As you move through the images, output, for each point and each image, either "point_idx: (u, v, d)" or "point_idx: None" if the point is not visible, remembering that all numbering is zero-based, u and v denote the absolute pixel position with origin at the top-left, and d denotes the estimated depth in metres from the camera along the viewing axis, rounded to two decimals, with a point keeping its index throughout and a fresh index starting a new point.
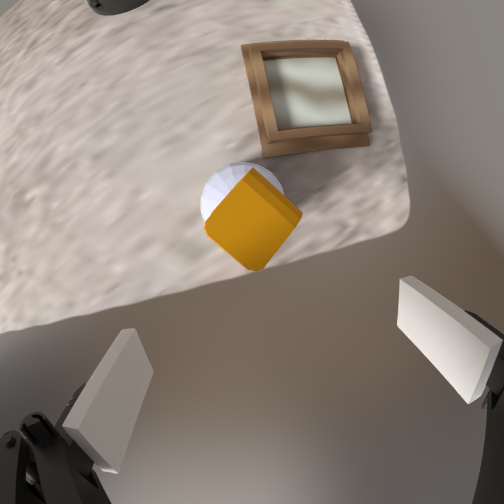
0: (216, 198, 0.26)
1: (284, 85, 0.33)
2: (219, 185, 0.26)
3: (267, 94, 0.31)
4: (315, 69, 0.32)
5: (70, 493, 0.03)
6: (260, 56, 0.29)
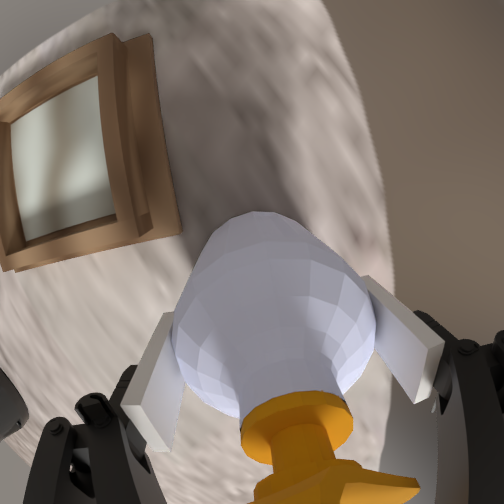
0: None
1: (52, 203, 0.17)
2: (229, 412, 0.10)
3: (59, 244, 0.15)
4: (27, 153, 0.16)
5: (123, 480, 0.04)
6: (12, 256, 0.15)
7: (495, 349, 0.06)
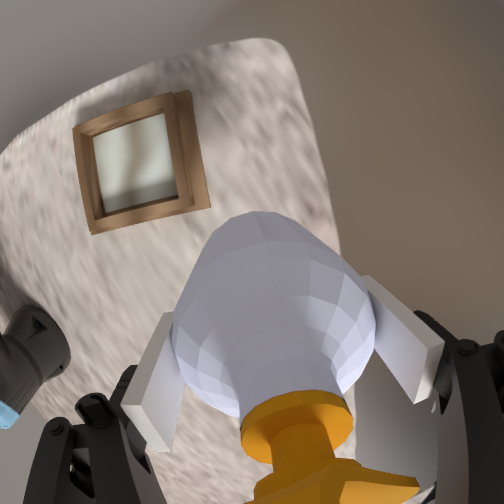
0: None
1: (129, 189, 0.33)
2: (229, 412, 0.10)
3: (140, 211, 0.31)
4: (109, 157, 0.32)
5: (124, 480, 0.04)
6: (100, 220, 0.31)
7: (495, 349, 0.06)
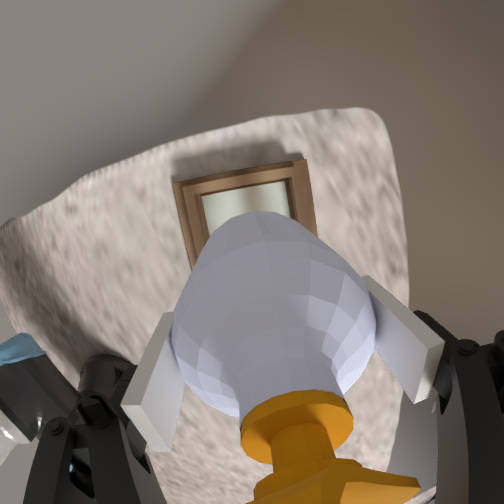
0: None
1: None
2: (229, 412, 0.10)
3: None
4: (223, 220, 0.36)
5: (124, 480, 0.04)
6: None
7: (495, 349, 0.06)
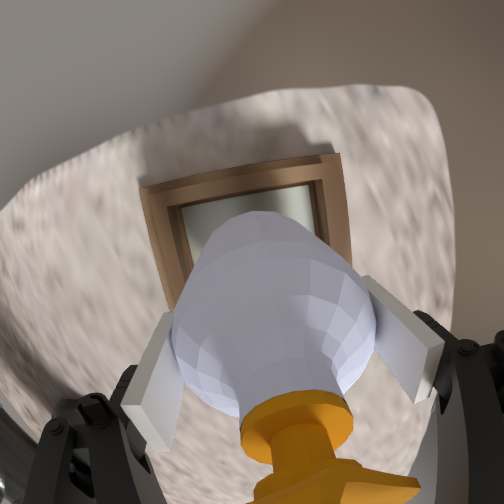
0: None
1: None
2: (229, 412, 0.10)
3: None
4: None
5: (124, 480, 0.04)
6: None
7: (495, 349, 0.06)
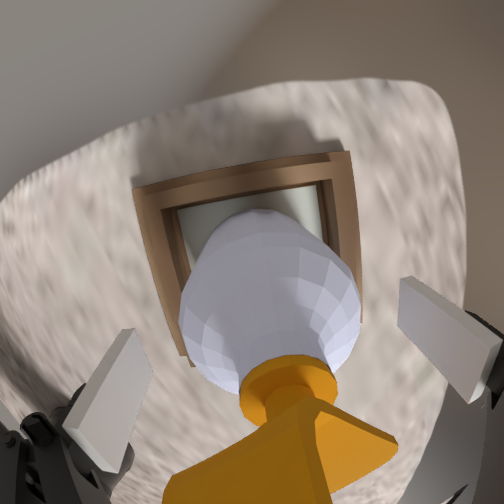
0: None
1: None
2: (229, 387, 0.12)
3: None
4: None
5: (70, 493, 0.03)
6: None
7: None
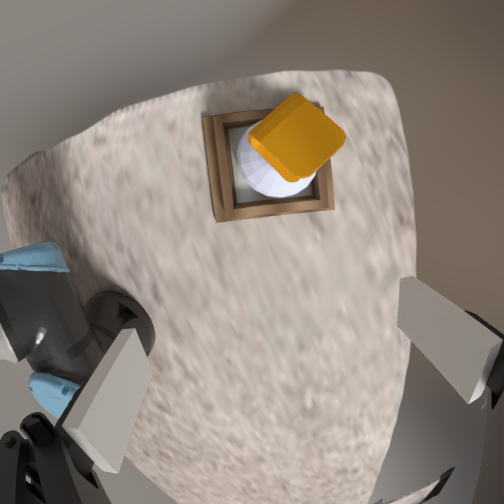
0: (271, 179, 0.27)
1: None
2: (258, 176, 0.27)
3: (284, 206, 0.37)
4: None
5: (70, 493, 0.03)
6: (240, 209, 0.37)
7: None
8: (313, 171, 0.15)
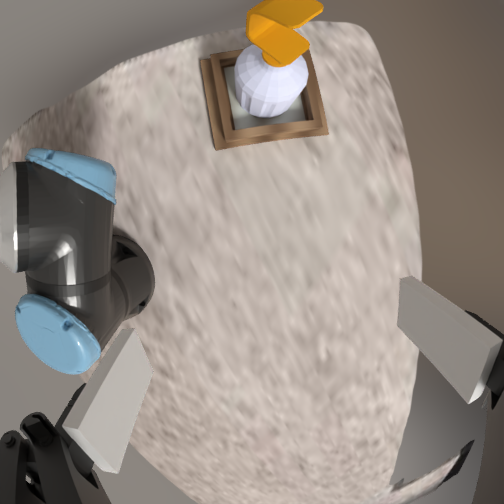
0: (267, 82, 0.26)
1: None
2: (255, 80, 0.27)
3: (280, 126, 0.36)
4: None
5: (70, 493, 0.03)
6: (239, 130, 0.36)
7: None
8: (301, 22, 0.14)
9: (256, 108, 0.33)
